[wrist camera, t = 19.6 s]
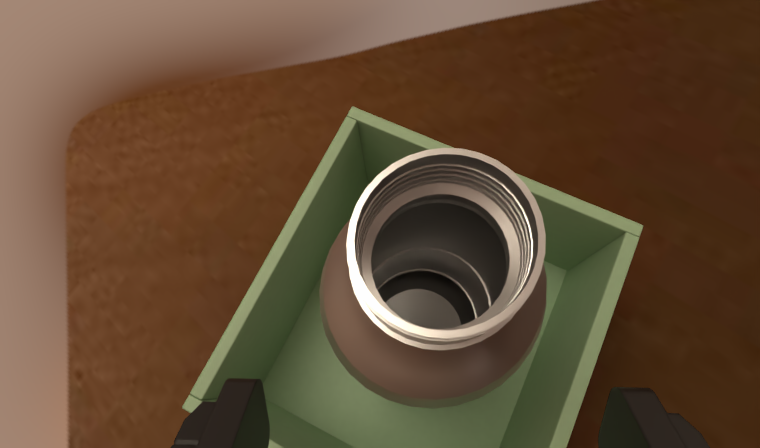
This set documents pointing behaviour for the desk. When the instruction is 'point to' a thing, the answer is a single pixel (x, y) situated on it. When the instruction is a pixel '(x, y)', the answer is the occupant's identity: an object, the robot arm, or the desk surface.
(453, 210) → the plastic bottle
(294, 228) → the storage bin
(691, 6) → the desk surface
